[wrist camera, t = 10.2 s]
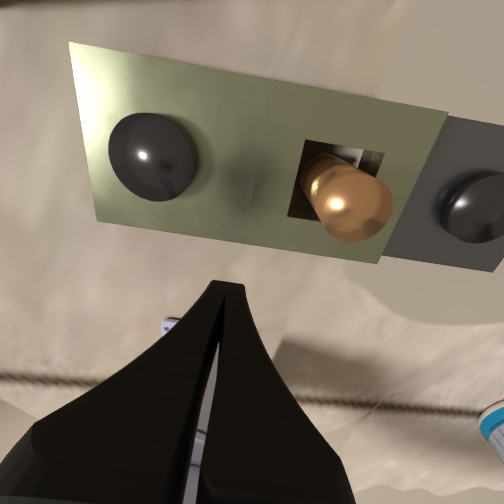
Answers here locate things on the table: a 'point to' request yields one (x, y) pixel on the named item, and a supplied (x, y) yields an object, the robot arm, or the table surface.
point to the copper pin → (346, 198)
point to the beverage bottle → (494, 427)
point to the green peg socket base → (281, 161)
